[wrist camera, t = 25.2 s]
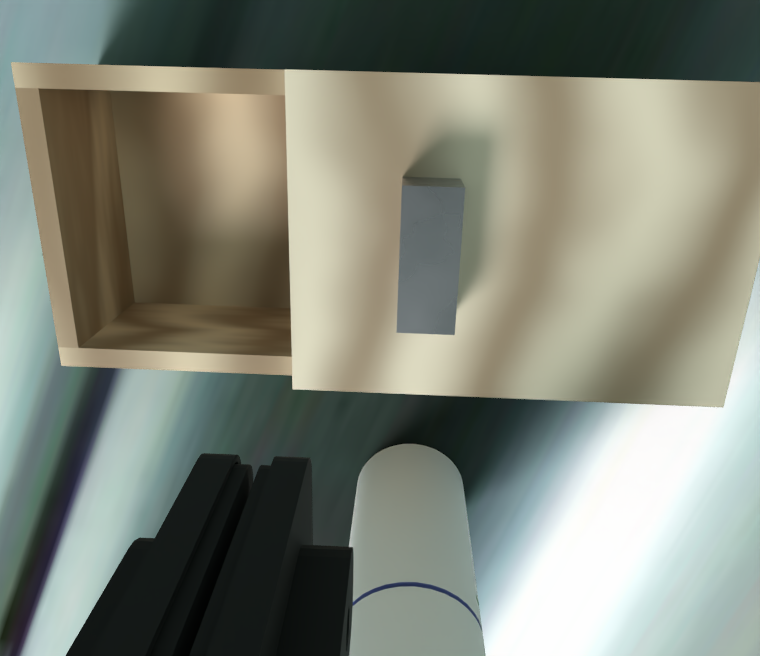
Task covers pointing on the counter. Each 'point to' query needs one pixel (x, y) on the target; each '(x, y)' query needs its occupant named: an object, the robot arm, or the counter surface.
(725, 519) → the counter surface
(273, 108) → the wooden box
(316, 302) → the lid
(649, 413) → the counter surface
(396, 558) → the cylindrical container
